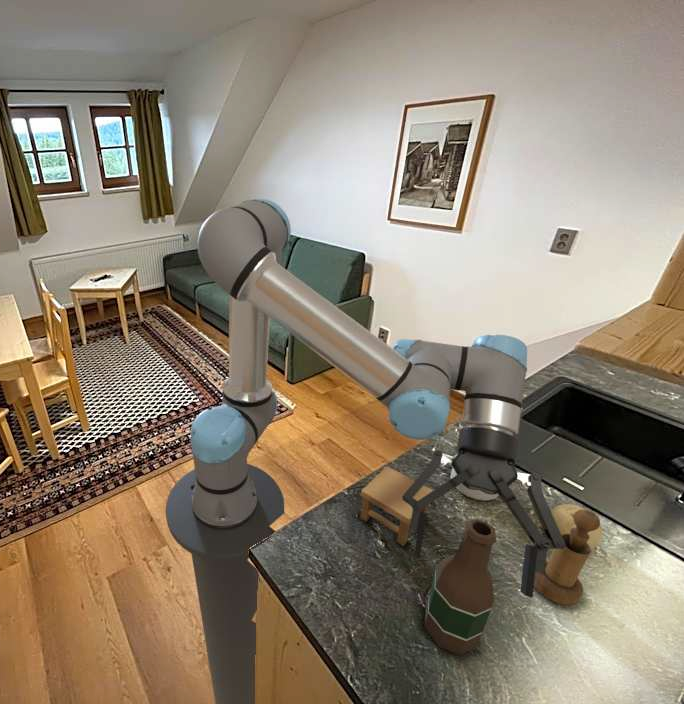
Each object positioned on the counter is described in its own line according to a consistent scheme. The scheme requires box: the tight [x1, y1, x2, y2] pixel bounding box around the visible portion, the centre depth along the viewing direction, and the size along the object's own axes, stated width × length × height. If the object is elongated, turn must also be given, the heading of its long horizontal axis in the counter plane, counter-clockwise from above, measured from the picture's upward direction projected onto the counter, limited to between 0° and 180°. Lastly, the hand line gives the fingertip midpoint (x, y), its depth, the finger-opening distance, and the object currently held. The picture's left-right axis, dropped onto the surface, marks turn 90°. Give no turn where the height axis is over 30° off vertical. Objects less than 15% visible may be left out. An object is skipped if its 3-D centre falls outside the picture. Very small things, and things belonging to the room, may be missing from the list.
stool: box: [359, 465, 434, 547], centre depth 82 cm, size 10×10×8 cm
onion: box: [550, 503, 603, 550], centre depth 75 cm, size 8×8×8 cm
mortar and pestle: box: [534, 508, 601, 607], centre depth 65 cm, size 7×6×18 cm
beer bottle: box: [424, 518, 497, 656], centre depth 59 cm, size 8×8×24 cm
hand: (468, 574), depth 58 cm, fingers open, 13 cm apart
